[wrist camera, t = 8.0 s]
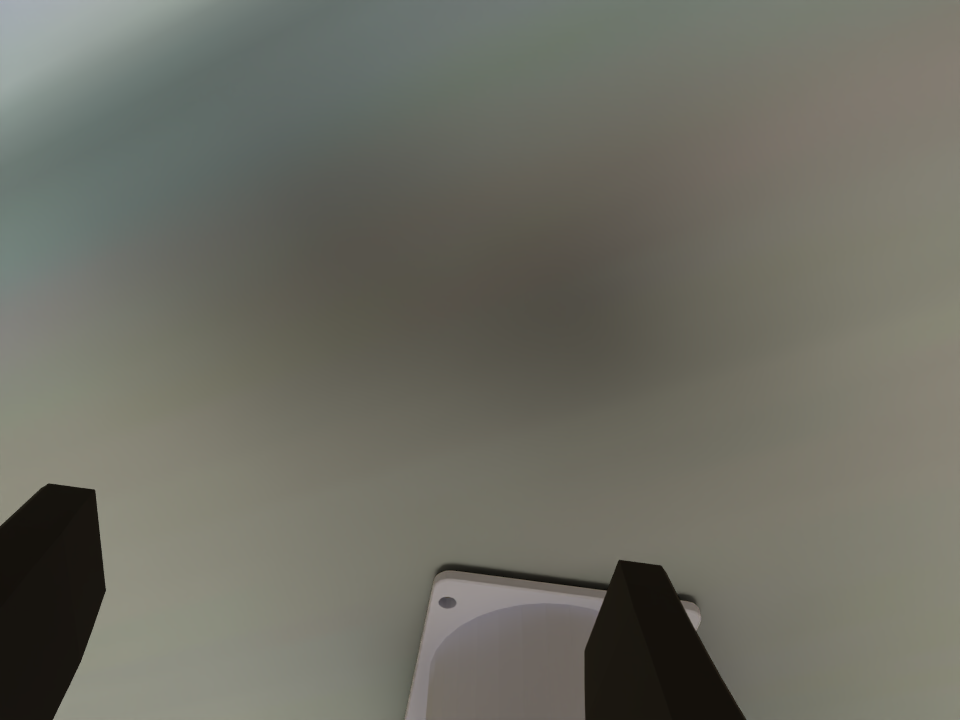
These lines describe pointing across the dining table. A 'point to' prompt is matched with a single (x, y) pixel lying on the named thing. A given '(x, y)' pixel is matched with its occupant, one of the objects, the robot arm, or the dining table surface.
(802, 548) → the dining table surface
